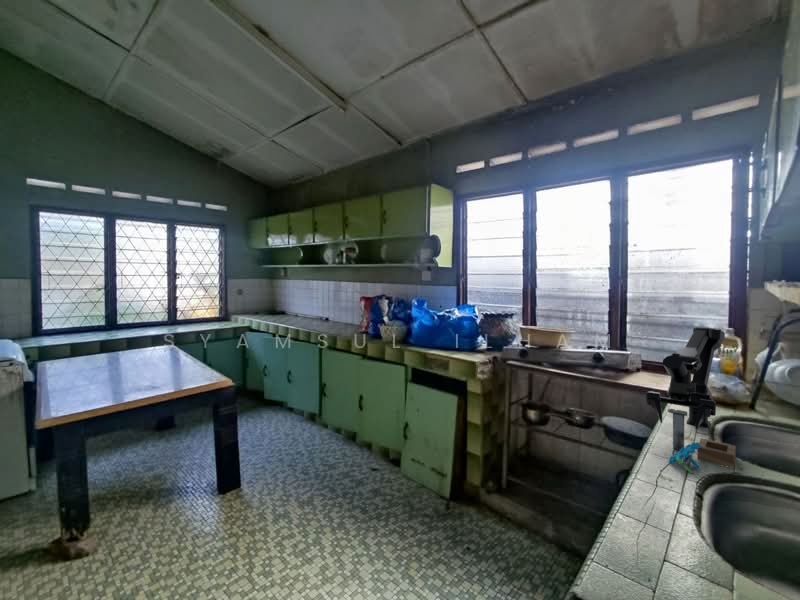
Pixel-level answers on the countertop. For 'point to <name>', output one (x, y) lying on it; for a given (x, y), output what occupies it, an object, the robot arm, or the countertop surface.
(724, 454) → the key holder
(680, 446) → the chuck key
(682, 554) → the countertop surface
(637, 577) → the countertop surface
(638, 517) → the countertop surface
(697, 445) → the blue lumpy figure
